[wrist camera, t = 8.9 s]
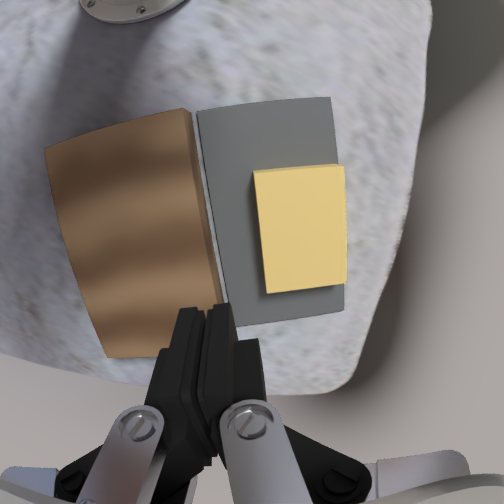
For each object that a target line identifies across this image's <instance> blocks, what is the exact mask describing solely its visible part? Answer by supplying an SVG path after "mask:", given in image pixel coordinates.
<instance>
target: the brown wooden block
mask: <svg viewBox="0 0 504 504" xmlns="http://www.w3.org/2000/svg"><path fill="white" fill-rule="evenodd" d="M44 152H45V159H46V165H47V170H48V176H49V181H50V186H51V191H52V195H53V200H54V204H55V208H56V213H57V217H58V221H59V225H60V228H61V232H62V236H63V239H64V243H65V246H66V250H67V253H68V256H69V260H70V263H71V266H72V269H73V272H74V275H75V278H76V281H77V284H78V287H79V290H80V292H81V295H82V298H83V301H84V303H85V306H86V309H87V311H88V314H89V316H90V319H91V321H92V324H93V326H94V329H95V331H96V333H97V336H98V338H99V340H100V343H101V345H102V347H103V349H104V351H105V354H106V356H107V358H131V357H154V356H158V354H159V351H160V349H162V348H169V345H170V341H171V338H172V334H173V330H174V327H175V323H176V320H177V316H178V313H179V309H180V308H187V307H197V308H198V310H204V313H205V316H206V317H207V310H208V309H213V305H214V304H220V303H224V299H223V294H222V289H221V284H220V278H219V273H218V268H217V263H216V258H215V252H214V247H213V242H212V236H211V231H210V225H209V219H208V214H207V208H206V202H205V196H204V190H203V184H202V178H201V172H200V166H199V160H198V154H197V147H196V141H195V134H194V127H193V121H192V114H191V112H189V111H187V110H185V109H184V108H180V109H175V110H170V111H166V112H161V113H157V114H153V115H148V116H144V117H140V118H137V119H133V120H129V121H125V122H122V123H118V124H115V125H111V126H108V127H105V128H101V129H98V130H95V131H92V132H89V133H86V134H83V135H80V136H77V137H74V138H71V139H68V140H65V141H62V142H60V143H57V144H54V145H52V146H49V147H47V148H44Z"/></svg>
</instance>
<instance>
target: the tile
mask: <svg viewBox="0 0 504 504" xmlns="http://www.w3.org/2000/svg"><path fill="white" fill-rule="evenodd" d="M253 176H254V185H255V194H256V203H257V212H258V221H259V230H260V240H261V249H262V258H263V268H264V277H265V285H266V291H267V293H275V292H283V291H291V290H299V289H307V288H314V287H321V286H329V285H336V284H343V283H347V224H346V194H345V174H344V166H342V165H338V164H326V165H312V166H299V167H287V168H277V169H267V170H257V171H253Z"/></svg>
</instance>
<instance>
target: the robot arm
mask: <svg viewBox="0 0 504 504" xmlns="http://www.w3.org/2000/svg"><path fill="white" fill-rule="evenodd" d="M183 1H184V0H80V3H81V5H82V7H83V8H84V9H85V10H86V12H88V13H89V14H90V15H92V16H93V17H95V18H97V19H99V20H100V21H104V22H108V23H114V24H126V23H135V22H139V21H143V20H147V19H150V18H153V17H155V16H158V15H161V14H163V13H164V12H166V11H168V10H170V9H172V8H174V7H175V6H177V5H178V4H180V3H181V2H183ZM144 11H145V12H144ZM142 12H144V13H142ZM218 454H219V456H220V458H221V460H222V462H223V464H224V467H225V469H226V470H227V471H228V476H229V481H230V486H231V491H232V496H233V501H234V504H504V475H501V474H472V475H470V470H469V465H468V463H467V461H466V458H465V457H464V456H463V455H462V454H461V453H459V452H457V451H454V450H443V451H437V452H432V453H426V454H421V455H414V456H407V457H399V458H391V459H383V460H377V462H376V463H370V464H362V463H360V462H359V461H357V460H355V459H353V458H350V457H348V456H346V455H344V454H342V453H339V452H337V451H335V450H333V449H331V448H329V447H326V446H324V445H322V444H320V443H318V442H316V441H314V440H312V439H310V438H308V437H306V436H304V435H302V434H300V433H298V432H296V431H295V430H292V429H291V428H289V427H287V426H285V425H283V423H282V420H281V417H280V415H279V413H278V411H277V410H276V408H275V407H274V406H272V405H271V404H270V403H268V402H267V399H266V390H265V381H264V373H263V365H262V358H261V352H260V346H259V340H258V338H256V339H248V340H240V341H238V336H237V331H236V326H235V321H234V316H233V311H232V306H231V303H230V302H228V303H220V304H214V305H213V309H208V310H207V317H206V316H205V313H204V310H198V308H197V307H187V308H180V309H179V313H178V316H177V320H176V323H175V327H174V330H173V334H172V338H171V341H170V345H169V348H162V349H160V351H159V354H158V357H157V360H156V364H155V367H154V371H153V374H152V378H151V381H150V385H149V388H148V392H147V395H146V400H145V403H144V405H140V406H135V407H131V408H129V409H127V410H125V411H124V412H122V413H121V414H120V415H119V416H118V418H117V419H116V420H115V422H114V424H113V426H112V428H111V430H110V432H109V434H108V436H107V438H106V440H105V442H104V444H103V445H101V446H99V447H98V448H96V449H95V450H93V451H91V452H89V453H88V454H86V455H85V456H83V457H81V458H79V459H78V460H76V461H74V462H72V463H71V464H69V465H67V466H66V467H64V468H63V469H62V470H60V471H59V470H57V468H32V467H15V466H14V467H9V468H7V469H6V470H5V471H4V472H3V473H2V474H1V476H0V504H192V501H193V497H194V493H195V489H196V485H197V474H199V473H200V472H201V471H202V470H203V469H204V466H211V465H212V457H217V455H218Z"/></svg>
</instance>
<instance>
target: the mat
mask: <svg viewBox="0 0 504 504" xmlns="http://www.w3.org/2000/svg"><path fill="white" fill-rule="evenodd" d="M197 116H198V123H199V130H200V136H201V143H202V149H203V156H204V162H205V168H206V175H207V181H208V187H209V193H210V199H211V205H212V211H213V217H214V222H215V228H216V234H217V240H218V245H219V251H220V256H221V262H222V267H223V272H224V278H225V283H226V288H227V294H228V299H229V302H230V303H231V306H232V311H233V316H234V321H235V326H236V327H237V326H245V325H253V324H260V323H268V322H275V321H282V320H288V319H295V318H301V317H308V316H314V315H320V314H326V313H331V312H337V311H342V310H344V283H343V284H336V285H329V286H321V287H314V288H307V289H299V290H291V291H283V292H275V293H267V291H266V285H265V277H264V268H263V258H262V249H261V240H260V230H259V221H258V212H257V203H256V194H255V185H254V176H253V171H257V170H267V169H277V168H287V167H299V166H312V165H326V164H338V156H337V147H336V137H335V129H334V120H333V113H332V105H331V98H330V97H315V98H298V99H286V100H275V101H265V102H256V103H248V104H240V105H233V106H226V107H220V108H214V109H208V110H202V111H197Z"/></svg>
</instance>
